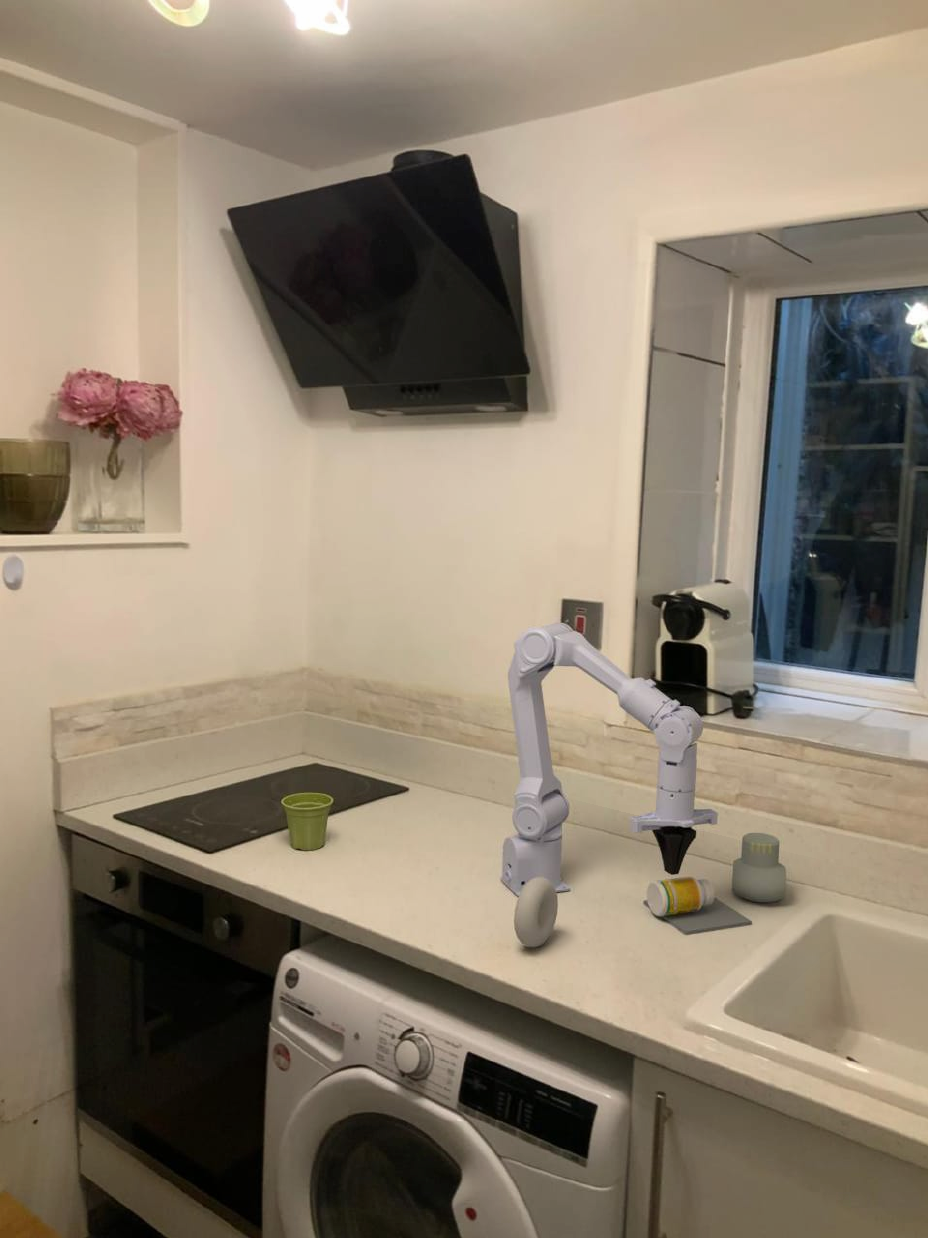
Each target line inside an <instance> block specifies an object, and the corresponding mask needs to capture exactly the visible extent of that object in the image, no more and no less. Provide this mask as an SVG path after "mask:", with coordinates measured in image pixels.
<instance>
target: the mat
mask: <svg viewBox="0 0 928 1238" xmlns="http://www.w3.org/2000/svg"><path fill="white" fill-rule="evenodd" d="M642 903H643V905H645V906H646V907H647V908H648V909H650V907H649V905H648V901H647V899H646V900H643V901H642ZM660 917H661V918H662V919H663V920H665V921H666V922H667V923H669V924H670V925H671V926H672V927H674V928H675V929H677V930H678V931H680V933H682V934H684V935H685V936H687V935H694V934H699V933H706V932H711V931H712V932H713V931H718V930H724V929H730V928H731V929H733V928H737V927H738V928H739V927H744V926H749V925H750V926H751V925H752V924H753V921H752V920H751V919H749V918H748V917H746V916H744V915H743V914H742V913H740V912H738V911H736V910H735V909H734V908H732V907H731V906H729V905H728V904H726V903H724V902H723V901H721V900H720V899H718V898H717V897H715V896H714V901H713V903H712V904H711V905H707V906H702V907H701V908H700V909H699V910H698V911H695V912H688V913H680V914H673V915H666V916H660Z"/></svg>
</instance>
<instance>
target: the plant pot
mask: <svg viewBox="0 0 928 1238" xmlns="http://www.w3.org/2000/svg"><path fill="white" fill-rule="evenodd" d="M333 804H334V798H333V797H331V795H328V794H324V793H319V792H318V793H317V792H302V793H301V792H299V793H294V794H291V795H288V796H284V797H283V798H282V800H281V805H282V806H283V808H284V812H285V813H286V821H287V827H288V833H289V842H290V847H291V848H292V849H294V850H297V849H299V850H301V851H306V850H307V852H308V851H314V850H319V849H320V848H321V847H324V845H325V843H326V841H325V840H326V834H327V826H328V820H329V812H330V810H331V807H332V805H333Z"/></svg>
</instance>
